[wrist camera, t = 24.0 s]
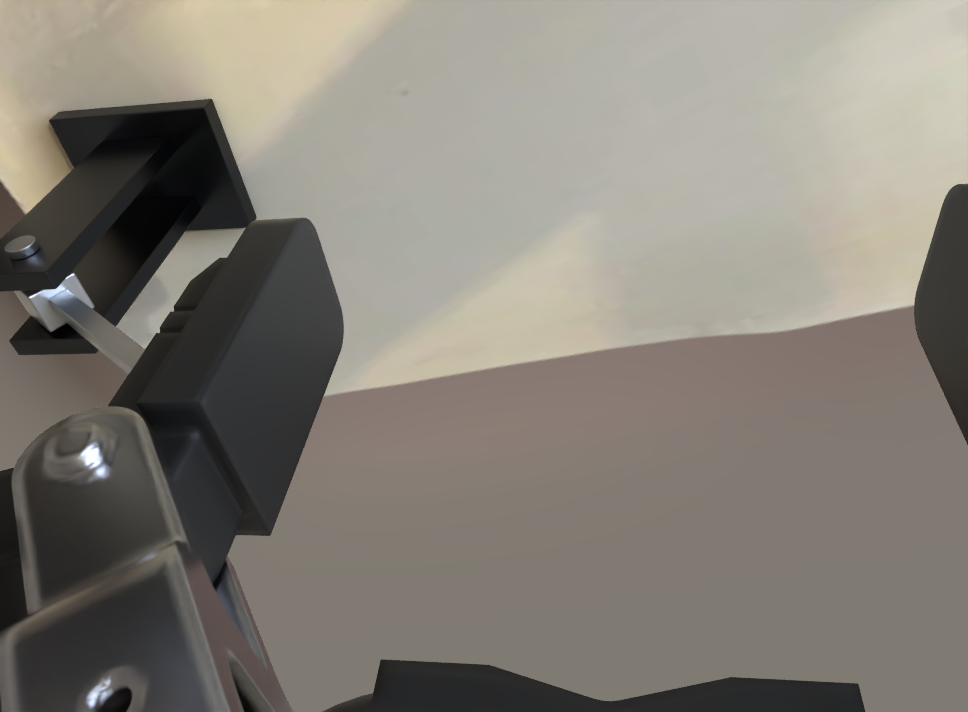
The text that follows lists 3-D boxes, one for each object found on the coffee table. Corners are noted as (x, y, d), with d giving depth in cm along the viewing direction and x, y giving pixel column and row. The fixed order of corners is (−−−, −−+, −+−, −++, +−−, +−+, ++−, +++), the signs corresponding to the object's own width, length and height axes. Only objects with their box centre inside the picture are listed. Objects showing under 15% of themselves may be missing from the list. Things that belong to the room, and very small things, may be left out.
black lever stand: (212, 98, 44) (84, 241, 33) (257, 217, 49) (159, 375, 39) (58, 111, 46) (-111, 251, 35) (117, 225, 51) (-13, 377, 40)
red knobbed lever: (243, 368, 29) (159, 425, 27) (273, 433, 31) (198, 489, 29) (55, 237, 39) (-15, 273, 37) (89, 294, 41) (24, 330, 39)
